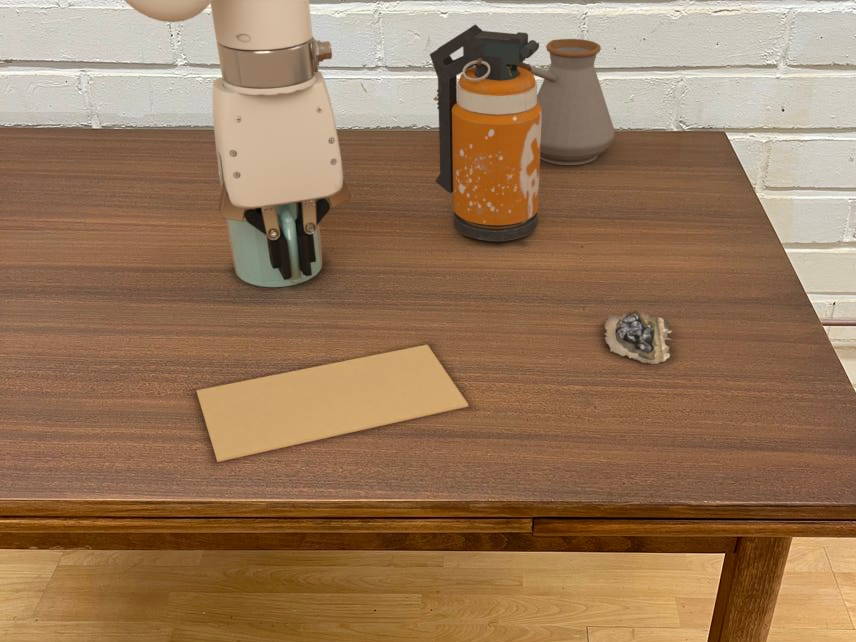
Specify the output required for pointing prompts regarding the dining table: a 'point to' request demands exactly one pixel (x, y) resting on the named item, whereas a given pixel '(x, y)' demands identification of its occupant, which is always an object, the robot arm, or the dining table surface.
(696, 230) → the dining table surface
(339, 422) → the mat
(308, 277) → the teal coffee mug
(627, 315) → the mineral specimen
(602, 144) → the coffee pot
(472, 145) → the canister
